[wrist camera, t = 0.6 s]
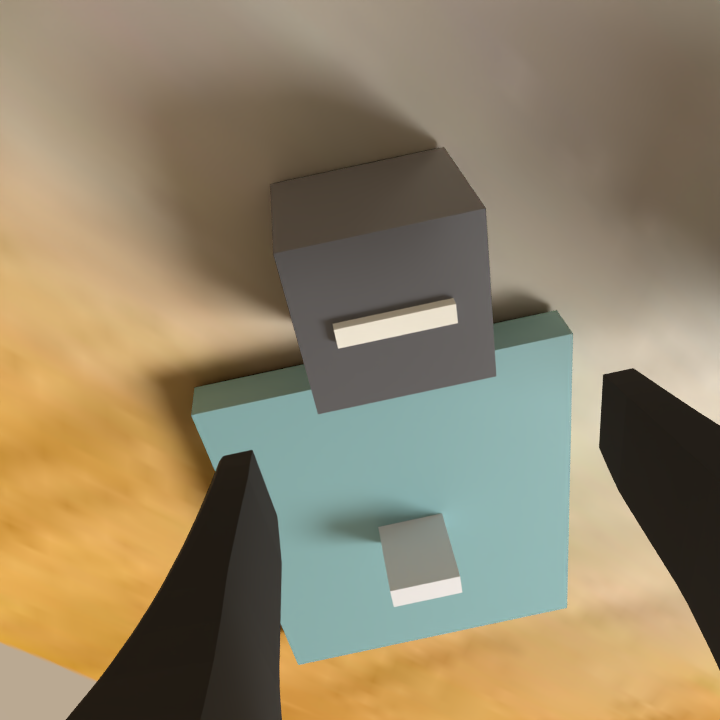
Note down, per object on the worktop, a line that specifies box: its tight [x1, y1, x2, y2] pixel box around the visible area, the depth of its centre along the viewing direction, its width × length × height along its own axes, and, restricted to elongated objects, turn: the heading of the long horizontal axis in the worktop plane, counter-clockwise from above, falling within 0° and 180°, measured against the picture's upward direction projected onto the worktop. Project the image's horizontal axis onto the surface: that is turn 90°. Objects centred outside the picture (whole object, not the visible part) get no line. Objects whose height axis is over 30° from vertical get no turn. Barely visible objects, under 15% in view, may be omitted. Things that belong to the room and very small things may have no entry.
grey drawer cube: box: [270, 147, 496, 414], centre depth 19 cm, size 5×5×5 cm
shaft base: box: [191, 310, 573, 665], centre depth 27 cm, size 13×16×4 cm
